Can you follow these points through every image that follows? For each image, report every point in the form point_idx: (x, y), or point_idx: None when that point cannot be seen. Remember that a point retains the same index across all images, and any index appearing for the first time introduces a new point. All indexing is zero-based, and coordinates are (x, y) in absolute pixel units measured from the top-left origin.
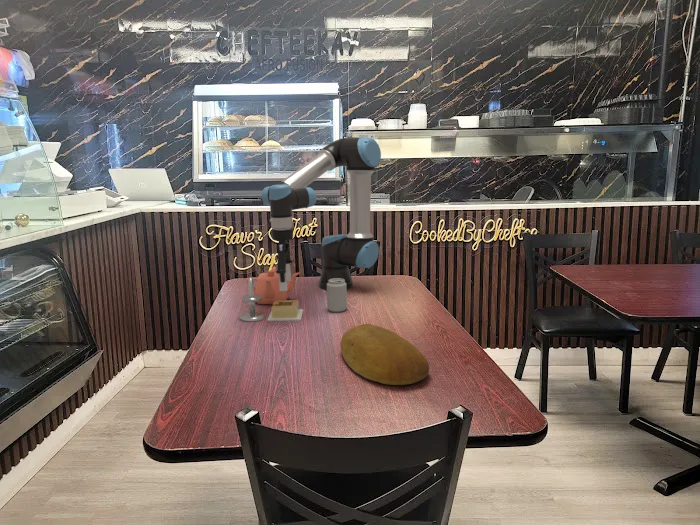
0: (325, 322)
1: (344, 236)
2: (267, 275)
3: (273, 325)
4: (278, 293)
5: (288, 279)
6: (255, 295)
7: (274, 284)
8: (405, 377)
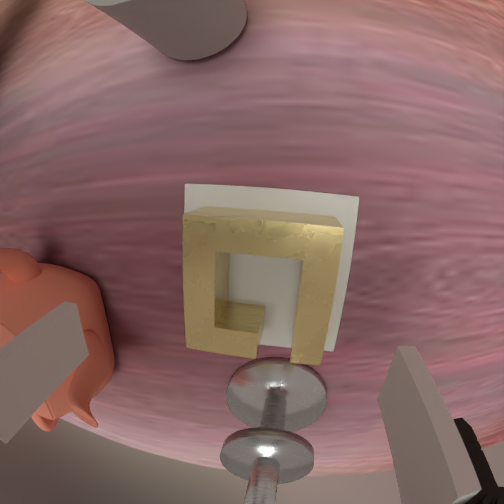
0: (395, 79)
1: None
2: None
3: (395, 320)
4: None
5: (75, 327)
6: (240, 452)
7: None
8: None
